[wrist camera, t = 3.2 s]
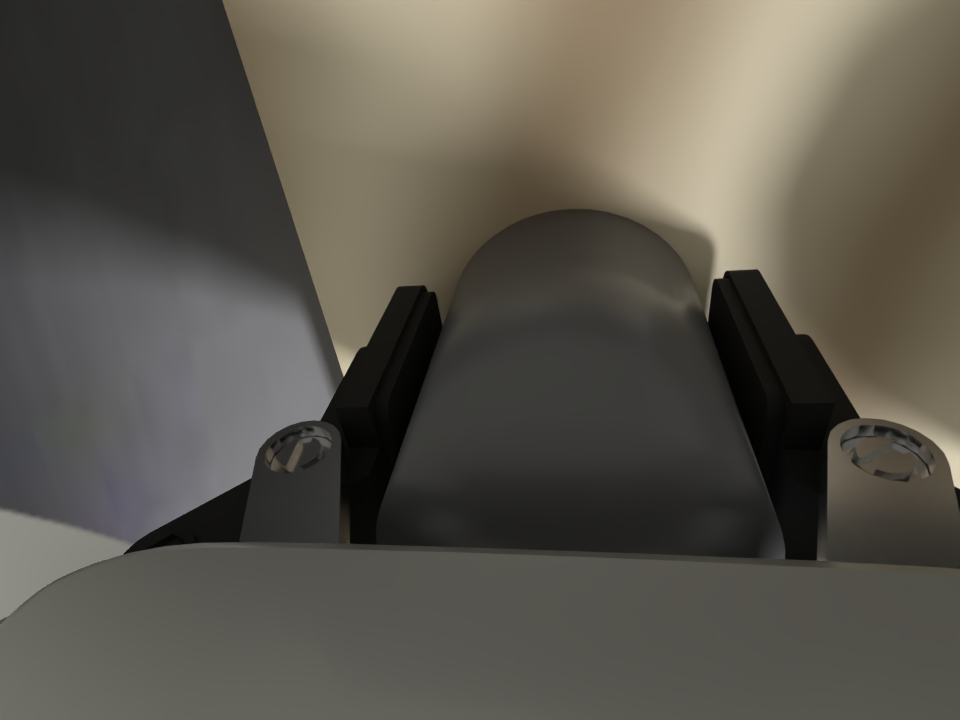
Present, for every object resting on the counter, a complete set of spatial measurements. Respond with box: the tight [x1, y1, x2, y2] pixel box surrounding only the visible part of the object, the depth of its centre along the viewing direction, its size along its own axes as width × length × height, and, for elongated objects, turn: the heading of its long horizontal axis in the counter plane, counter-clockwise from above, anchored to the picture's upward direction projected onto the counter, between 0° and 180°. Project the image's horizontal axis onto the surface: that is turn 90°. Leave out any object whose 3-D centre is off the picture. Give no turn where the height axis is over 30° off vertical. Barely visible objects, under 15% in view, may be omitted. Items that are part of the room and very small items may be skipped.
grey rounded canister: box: [376, 209, 785, 559], centre depth 10 cm, size 5×5×6 cm
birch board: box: [222, 0, 960, 489], centre depth 12 cm, size 24×16×1 cm, turn 97°
